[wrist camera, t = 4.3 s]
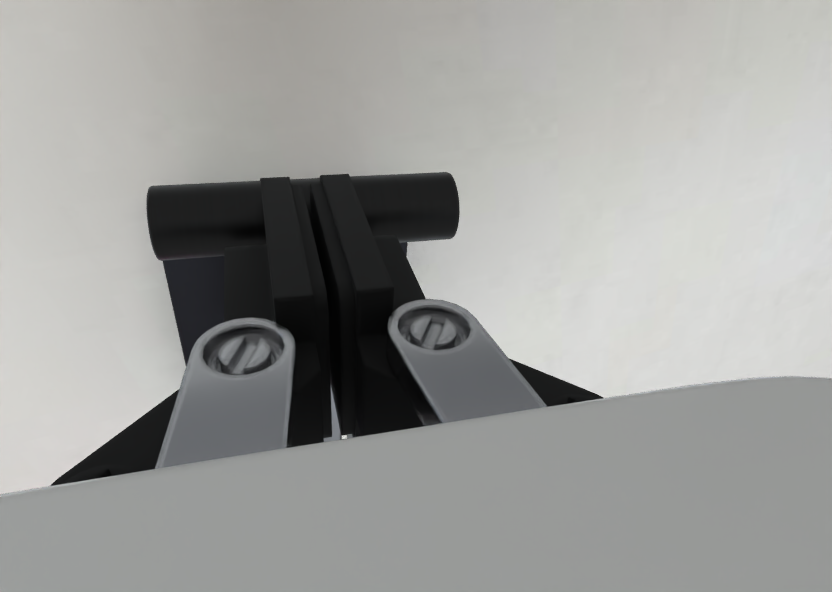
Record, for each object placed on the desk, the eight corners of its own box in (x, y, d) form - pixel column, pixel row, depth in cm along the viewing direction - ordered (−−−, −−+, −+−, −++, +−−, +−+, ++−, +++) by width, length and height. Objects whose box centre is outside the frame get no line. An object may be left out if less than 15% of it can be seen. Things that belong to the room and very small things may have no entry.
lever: (152, 161, 12) (139, 224, 10) (437, 151, 13) (471, 204, 11) (230, 517, 20) (231, 586, 18) (402, 486, 21) (418, 548, 20)
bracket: (154, 197, 23) (95, 457, 13) (403, 184, 25) (518, 395, 15) (200, 412, 30) (186, 688, 20) (393, 386, 32) (466, 621, 22)
